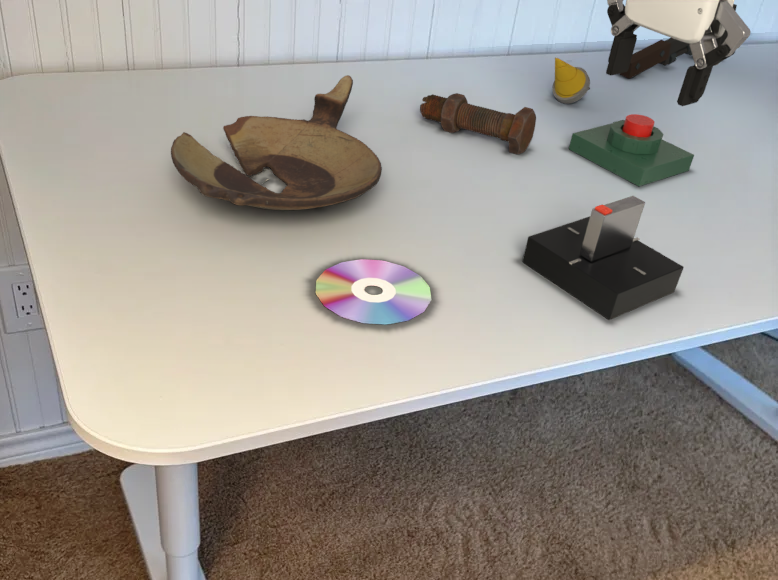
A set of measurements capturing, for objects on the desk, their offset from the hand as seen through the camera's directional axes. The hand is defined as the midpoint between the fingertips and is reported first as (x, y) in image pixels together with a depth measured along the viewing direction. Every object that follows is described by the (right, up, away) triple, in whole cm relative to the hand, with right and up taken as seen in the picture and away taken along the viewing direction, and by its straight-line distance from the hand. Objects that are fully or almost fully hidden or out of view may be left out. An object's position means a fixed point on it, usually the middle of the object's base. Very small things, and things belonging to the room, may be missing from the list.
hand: (650, 87), depth 91 cm
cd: (-30, -24, -12) cm, 41 cm away
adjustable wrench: (+19, +22, +48) cm, 56 cm away
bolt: (-17, +1, +19) cm, 26 cm away
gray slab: (-7, -19, -8) cm, 22 cm away
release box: (+3, -3, +17) cm, 18 cm away
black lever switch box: (-7, -22, -6) cm, 24 cm away
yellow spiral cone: (-2, +10, +31) cm, 33 cm away
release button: (+3, 0, +15) cm, 15 cm away
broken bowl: (-39, -10, +4) cm, 41 cm away
